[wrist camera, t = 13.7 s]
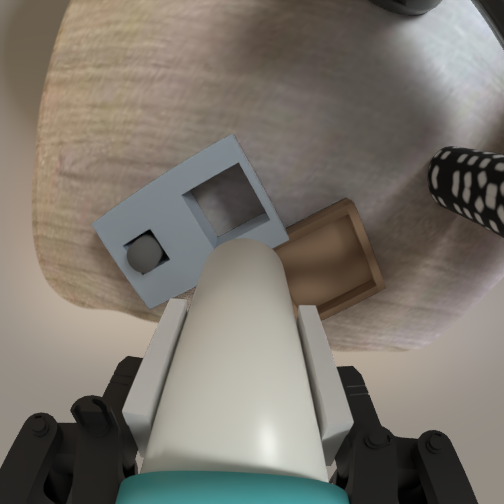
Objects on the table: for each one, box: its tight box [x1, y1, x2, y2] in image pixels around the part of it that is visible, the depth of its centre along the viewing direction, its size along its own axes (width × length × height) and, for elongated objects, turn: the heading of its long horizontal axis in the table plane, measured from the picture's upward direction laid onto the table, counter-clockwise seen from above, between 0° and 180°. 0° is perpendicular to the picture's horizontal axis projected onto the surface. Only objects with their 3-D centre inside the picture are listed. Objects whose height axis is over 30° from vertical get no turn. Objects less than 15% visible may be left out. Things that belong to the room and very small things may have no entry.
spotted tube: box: [428, 146, 504, 238], centre depth 22 cm, size 8×8×20 cm
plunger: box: [127, 230, 165, 273], centre depth 32 cm, size 3×3×4 cm
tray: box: [272, 198, 386, 321], centre depth 35 cm, size 12×12×2 cm
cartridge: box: [115, 238, 349, 504], centre depth 11 cm, size 6×6×15 cm
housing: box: [92, 134, 289, 309], centre depth 32 cm, size 12×18×4 cm, turn 118°
